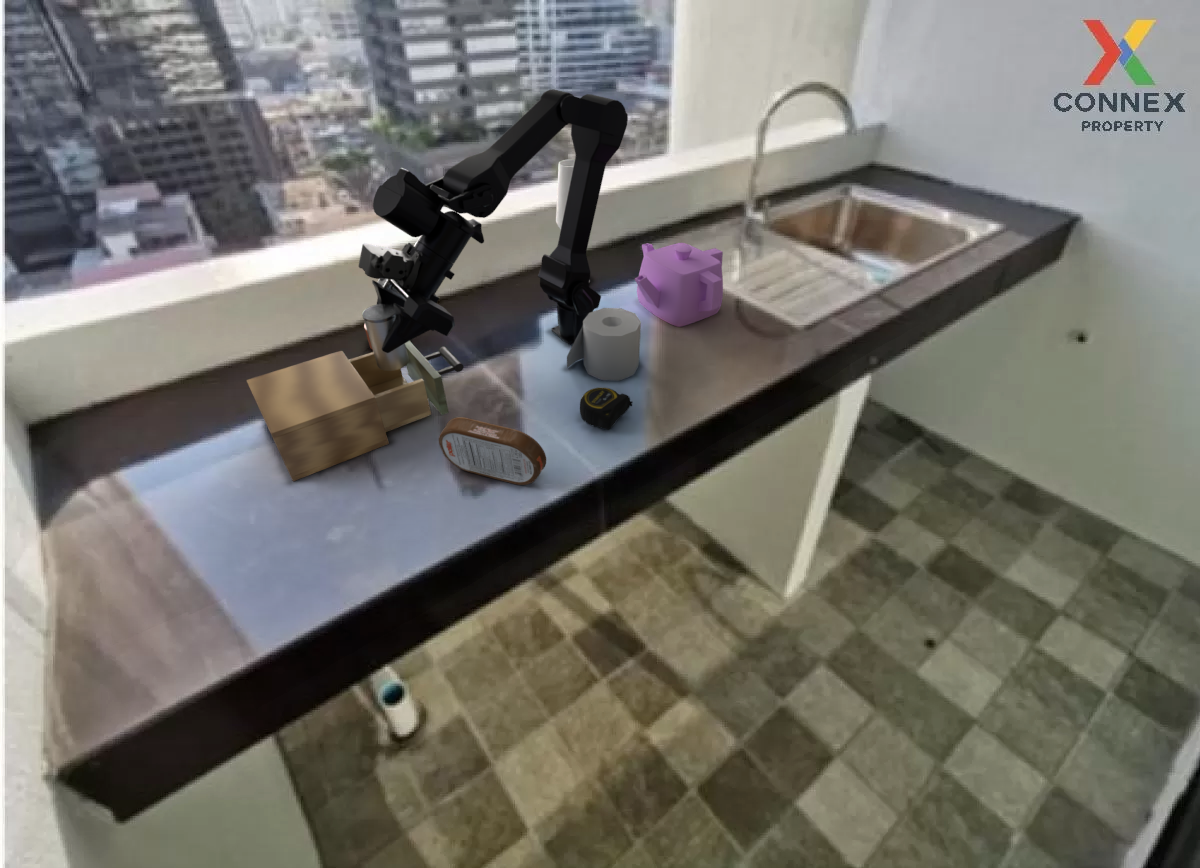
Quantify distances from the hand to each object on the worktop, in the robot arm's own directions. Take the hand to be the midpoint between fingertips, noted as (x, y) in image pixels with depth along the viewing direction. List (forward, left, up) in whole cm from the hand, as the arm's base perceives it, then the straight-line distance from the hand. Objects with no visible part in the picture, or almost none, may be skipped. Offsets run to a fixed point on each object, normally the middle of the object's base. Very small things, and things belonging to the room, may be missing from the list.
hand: (378, 344), depth 87 cm
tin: (-22, -6, -12) cm, 26 cm away
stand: (+20, -6, -12) cm, 24 cm away
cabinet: (0, +11, -12) cm, 16 cm away
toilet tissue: (-9, -34, -12) cm, 37 cm away
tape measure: (-21, -26, -12) cm, 35 cm away
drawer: (0, -2, -11) cm, 11 cm away
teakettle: (0, -58, -12) cm, 59 cm away
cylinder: (0, -1, -4) cm, 4 cm away
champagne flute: (+21, -48, -12) cm, 54 cm away
